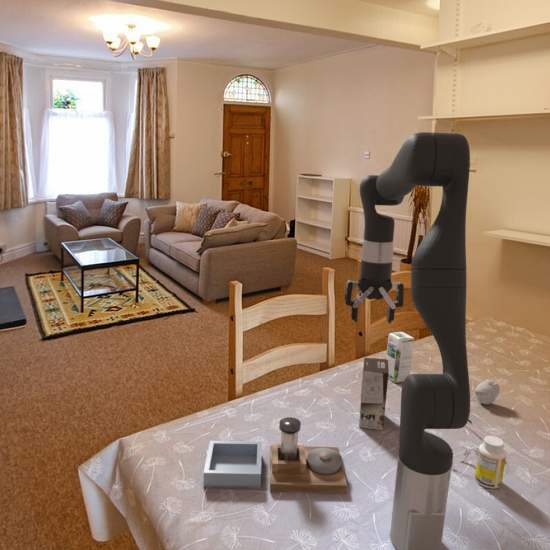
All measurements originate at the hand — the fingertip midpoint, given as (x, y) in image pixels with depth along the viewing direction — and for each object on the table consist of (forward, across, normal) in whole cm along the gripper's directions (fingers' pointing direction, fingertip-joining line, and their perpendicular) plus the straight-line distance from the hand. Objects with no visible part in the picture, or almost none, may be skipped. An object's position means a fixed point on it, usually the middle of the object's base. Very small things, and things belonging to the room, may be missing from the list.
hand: (372, 321), depth 131 cm
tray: (+28, -33, -22) cm, 49 cm away
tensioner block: (+28, -17, -22) cm, 40 cm away
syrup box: (+28, +15, +27) cm, 42 cm away
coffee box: (+28, +2, +1) cm, 28 cm away
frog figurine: (+28, +37, +12) cm, 48 cm away
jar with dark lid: (+26, -21, -22) cm, 40 cm away
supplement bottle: (+29, +23, -24) cm, 44 cm away
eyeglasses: (+29, +20, -8) cm, 36 cm away
